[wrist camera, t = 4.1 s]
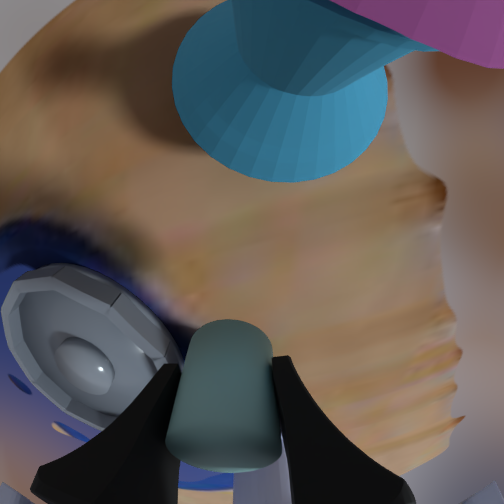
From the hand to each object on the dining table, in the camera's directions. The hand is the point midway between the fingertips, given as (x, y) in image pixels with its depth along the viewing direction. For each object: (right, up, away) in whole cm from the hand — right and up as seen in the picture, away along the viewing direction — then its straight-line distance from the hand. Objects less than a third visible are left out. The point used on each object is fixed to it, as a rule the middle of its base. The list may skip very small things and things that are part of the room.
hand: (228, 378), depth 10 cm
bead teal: (0, +1, +1) cm, 2 cm away
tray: (-13, -4, +11) cm, 18 cm away
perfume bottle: (+2, +14, +4) cm, 14 cm away
